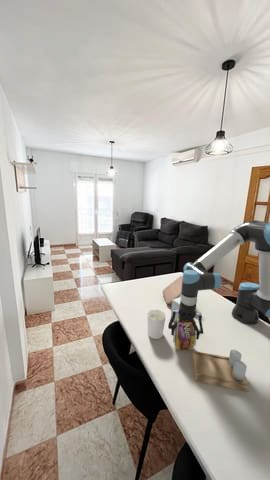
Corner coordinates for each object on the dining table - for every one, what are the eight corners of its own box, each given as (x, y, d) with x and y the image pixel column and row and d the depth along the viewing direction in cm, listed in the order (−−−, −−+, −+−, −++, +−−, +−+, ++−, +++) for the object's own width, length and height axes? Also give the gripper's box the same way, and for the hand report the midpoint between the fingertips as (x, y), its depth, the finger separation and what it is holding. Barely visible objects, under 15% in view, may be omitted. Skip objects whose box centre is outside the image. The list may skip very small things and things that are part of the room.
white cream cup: (149, 341, 102) (151, 321, 99) (144, 329, 111) (145, 310, 108) (167, 338, 104) (168, 318, 102) (160, 327, 114) (161, 308, 111)
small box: (177, 324, 117) (179, 304, 114) (170, 318, 122) (171, 299, 119) (187, 319, 121) (189, 300, 118) (179, 314, 126) (181, 296, 124)
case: (161, 293, 154) (163, 274, 151) (187, 293, 155) (189, 274, 152) (166, 308, 134) (168, 286, 131) (196, 308, 135) (199, 287, 132)
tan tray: (237, 364, 89) (238, 359, 89) (247, 391, 77) (249, 385, 76) (192, 356, 93) (193, 351, 92) (195, 381, 81) (196, 374, 80)
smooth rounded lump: (241, 373, 82) (244, 361, 81) (245, 382, 78) (248, 370, 77) (230, 371, 83) (232, 359, 82) (233, 380, 79) (236, 368, 77)
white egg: (237, 362, 88) (239, 350, 87) (240, 370, 84) (242, 358, 82) (227, 360, 89) (229, 348, 87) (229, 368, 84) (231, 356, 83)
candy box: (190, 343, 102) (193, 317, 98) (193, 349, 98) (196, 322, 94) (173, 343, 101) (176, 317, 98) (176, 350, 97) (178, 323, 93)
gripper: (211, 301, 95) (205, 340, 100) (165, 295, 99) (162, 333, 104) (214, 309, 88) (208, 351, 93) (164, 302, 92) (161, 343, 97)
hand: (184, 342), depth 99 cm, fingers closed on candy box, 9 cm apart
